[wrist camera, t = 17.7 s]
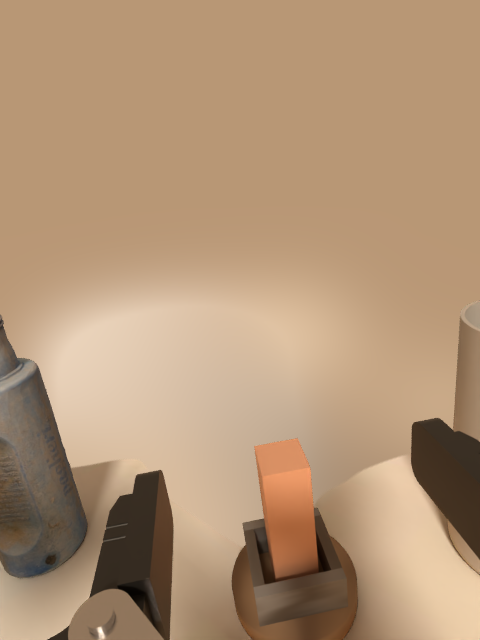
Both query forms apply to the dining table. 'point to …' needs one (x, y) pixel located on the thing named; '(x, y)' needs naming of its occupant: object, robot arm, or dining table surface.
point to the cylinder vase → (467, 400)
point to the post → (287, 509)
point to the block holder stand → (294, 591)
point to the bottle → (33, 474)
